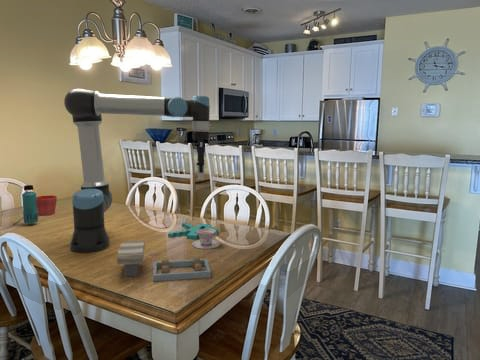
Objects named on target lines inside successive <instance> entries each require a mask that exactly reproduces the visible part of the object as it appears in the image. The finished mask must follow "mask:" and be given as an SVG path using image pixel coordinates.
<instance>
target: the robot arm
mask: <svg viewBox="0 0 480 360" xmlns="http://www.w3.org/2000/svg"><path fill="white" fill-rule="evenodd" d="M63 101H64V107H65V110H66V111H67V112H68V113H69V114H70V115H71V116H72V117H71V118H72V124H74V125H75V126H76V127H77V132H78V142H79V144H78V145H79V149H80V150H79V152H80V160H81V168H82V177H83V182H82V183H81V184H80V190H77V191H76V192H74V193H73V194H72V201H71V203H72V213H73V214H72V215H73V233H72V236H71V241H70V250H71V251H72V252H74V253H75V252H76V253H94V252H99V251H102V250H105V249H107V248H109V246H110V244H111V243H110V238H109V235H108V233H107V229H106V228H105V212H107V210H109V208H110V207H111V205H112V203H113V194H112V192H111V191H110V186H109V185H110V183H109V182H108V181H107V180H106V179H105V171H104V161H103V153H102V144H101V143H102V142H101V134H100V133H101V132H100V125H101V124H102V123H103V117H102V114H108V115H110V114H112V115H113V114H114V115H133V116H135V115H136V116H138V115H139V116H155V117H156V116H158V117H160V116H161V117H170V118H192V124H191V125H192V126H191V127H192V130H193V131H192V140H193V141H196V140H197V143H196V152H197V158H196V159H197V162H196V167H197V171H196V172H197V181H204V180H205V151H206V143H205V141H209V139H210V132H209V131H210V126H212V124H211V123H210V111H211V110H210V109H211V108H210V98H209V96H206V95H193V96H192V99H190V100H188V99H184V98H182V97H180V96H179V97H178V96H175V97H164V96H149V95H148V96H146V95H127V94H111V93H108V94H107V93H100V91H98V90H89V89H84V88H73V89H71V90H70V91H68V92H67V93H66V95H65V97H64V100H63Z"/></svg>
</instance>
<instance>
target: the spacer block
mask: <svg viewBox="0 0 480 360" xmlns="http://www.w3.org/2000/svg"><path fill="white" fill-rule="evenodd" d="M123 266H124V277H136V276H138V271H139V267H140V264H125V265H123Z"/></svg>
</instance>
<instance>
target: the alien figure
mask: <svg viewBox="0 0 480 360" xmlns="http://www.w3.org/2000/svg"><path fill="white" fill-rule="evenodd" d="M181 227H182V228H184V229H186V230H181V231H178V230H177V231H176V230H175V231H174V232H173V231H172V232H171V231H170V232H168V233H167V237H168V238H170V239H171V238H174V237H177V238H179V237H180V236H183V237H184V236H186V240H195V241H197V240H198V239H200V237H199V235H198V234H197V232H196V231H197V230H199V229H214V230H216V232H217V234H218V233H219V228H216V227H214V226H212V225H209V223H199V224H198V225H197V226H194V225H192V224H191V223H188V222H187V221H186V222H185V221H183V222H182V223H181ZM215 235H216V233H214V234H213V237H215ZM216 236H217V235H216Z"/></svg>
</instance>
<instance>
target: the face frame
mask: <svg viewBox="0 0 480 360" xmlns="http://www.w3.org/2000/svg"><path fill="white" fill-rule="evenodd" d="M202 266H204V269H205V270H203V269H202ZM181 267H192V268H193V269H194V271H183V272H170V268H181ZM158 269H161V273H158V272H157V271H158ZM211 273H212V272H211V268H210V265H209V262H208V259H207V258H201V257H196V256H195V257H193V258H192V259H183V260H180V259H179V260H169V259H168V258H167V259H166V258H164V259H161V261H154V262H153V272H152V281H153V282H159V281H162V282H163V281H174V280H176V281H177V280H189V279H205V278H211V277H212V275H211Z"/></svg>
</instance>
